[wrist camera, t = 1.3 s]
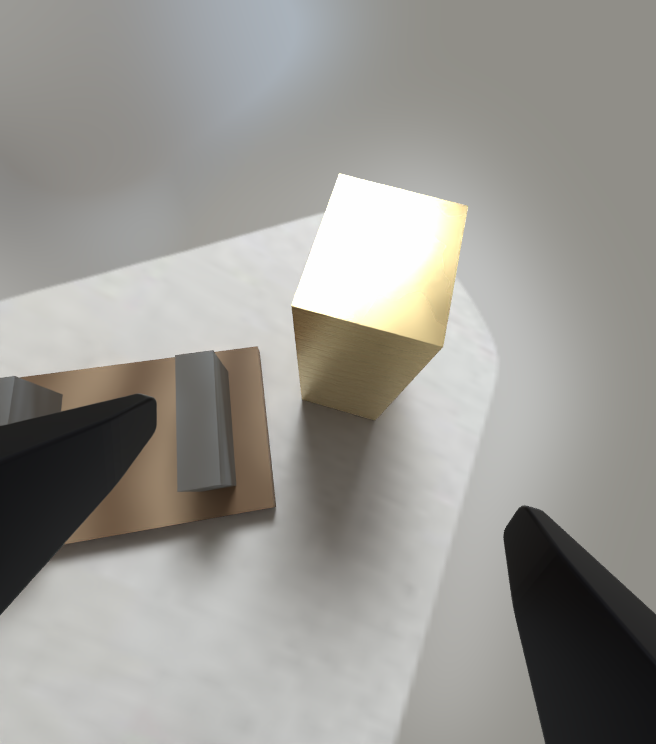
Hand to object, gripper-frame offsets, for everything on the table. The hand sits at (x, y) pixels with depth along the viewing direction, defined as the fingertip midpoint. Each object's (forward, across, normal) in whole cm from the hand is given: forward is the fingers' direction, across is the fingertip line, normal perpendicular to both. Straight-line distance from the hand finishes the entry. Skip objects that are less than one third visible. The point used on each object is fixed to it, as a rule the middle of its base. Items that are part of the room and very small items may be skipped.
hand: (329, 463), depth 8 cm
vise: (+9, +11, +10) cm, 17 cm away
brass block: (+15, 0, +4) cm, 15 cm away
